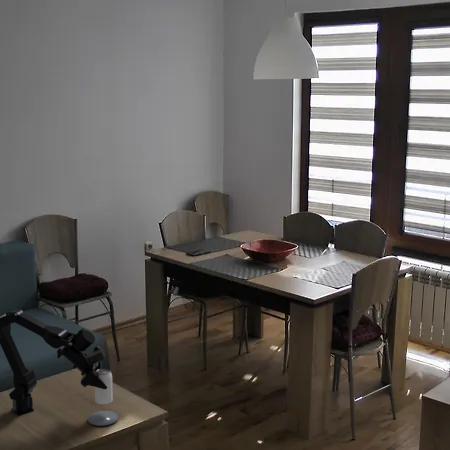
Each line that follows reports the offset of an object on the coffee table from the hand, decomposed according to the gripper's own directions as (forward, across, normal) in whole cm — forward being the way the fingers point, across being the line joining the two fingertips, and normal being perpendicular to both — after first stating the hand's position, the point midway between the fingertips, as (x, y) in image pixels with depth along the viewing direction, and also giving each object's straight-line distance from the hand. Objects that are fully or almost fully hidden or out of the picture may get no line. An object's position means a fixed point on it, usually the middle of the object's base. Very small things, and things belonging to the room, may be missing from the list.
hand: (107, 384), depth 261 cm
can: (+4, 0, +6) cm, 7 cm away
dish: (+8, -4, +10) cm, 13 cm away
